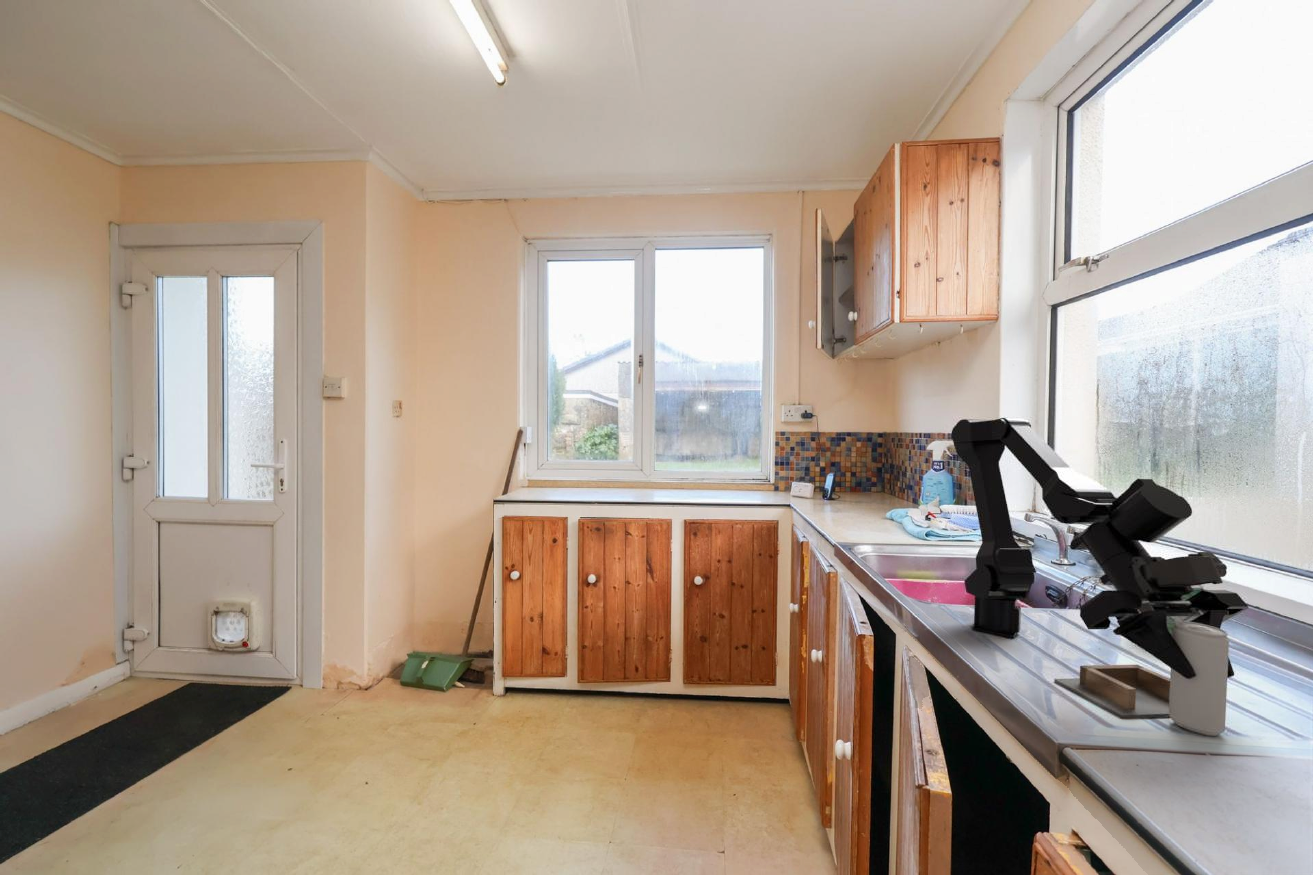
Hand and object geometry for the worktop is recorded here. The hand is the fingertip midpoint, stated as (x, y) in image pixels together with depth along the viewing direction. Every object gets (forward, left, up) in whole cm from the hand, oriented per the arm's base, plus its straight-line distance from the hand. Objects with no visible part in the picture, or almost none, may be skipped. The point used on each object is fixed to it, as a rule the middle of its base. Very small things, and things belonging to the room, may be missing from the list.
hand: (1211, 677), depth 63 cm
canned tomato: (-1, +38, -7) cm, 39 cm away
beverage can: (-1, +1, -7) cm, 7 cm away
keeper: (-6, +6, -7) cm, 11 cm away
